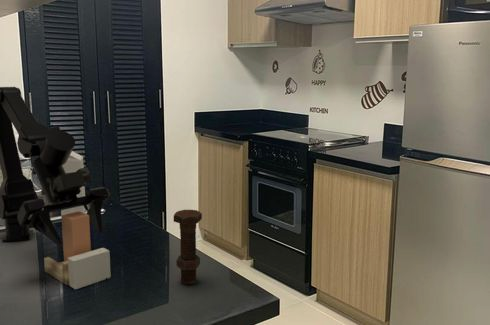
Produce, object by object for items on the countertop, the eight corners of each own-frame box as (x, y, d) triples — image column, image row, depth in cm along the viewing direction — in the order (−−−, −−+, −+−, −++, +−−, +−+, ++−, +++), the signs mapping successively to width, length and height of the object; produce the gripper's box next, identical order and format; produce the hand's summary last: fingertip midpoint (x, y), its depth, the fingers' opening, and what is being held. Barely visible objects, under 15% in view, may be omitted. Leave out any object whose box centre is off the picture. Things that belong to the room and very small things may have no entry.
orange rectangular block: (64, 269, 102) (61, 215, 99) (81, 263, 105) (78, 211, 102) (74, 274, 99) (71, 219, 97) (91, 268, 102) (89, 215, 100)
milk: (86, 219, 139) (83, 145, 135) (84, 226, 133) (80, 148, 129) (64, 220, 138) (60, 145, 134) (61, 227, 132) (56, 149, 128)
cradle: (44, 271, 103) (43, 251, 102) (83, 259, 110) (82, 241, 109) (66, 285, 96) (65, 264, 96) (106, 272, 103) (105, 252, 102)
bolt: (196, 289, 96) (195, 218, 93) (172, 286, 97) (170, 216, 94) (204, 277, 101) (203, 209, 99) (181, 275, 102) (180, 208, 100)
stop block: (69, 285, 97) (67, 257, 96) (104, 273, 103) (103, 247, 101) (75, 289, 95) (73, 261, 94) (110, 277, 101) (109, 250, 100)
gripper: (18, 162, 93) (47, 229, 88) (103, 151, 106) (133, 209, 101) (6, 194, 100) (32, 258, 94) (87, 180, 113) (115, 235, 108)
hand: (80, 238), depth 99 cm, fingers open, 9 cm apart
